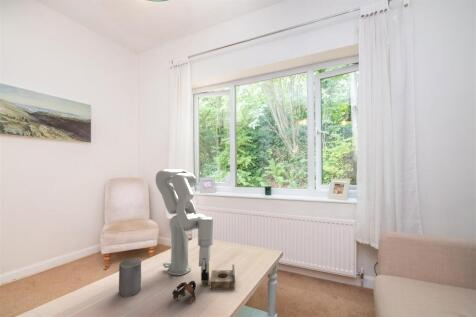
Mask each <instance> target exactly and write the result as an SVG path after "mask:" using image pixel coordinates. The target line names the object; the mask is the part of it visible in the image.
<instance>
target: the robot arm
mask: <svg viewBox="0 0 476 317" xmlns="http://www.w3.org/2000/svg"><path fill="white" fill-rule="evenodd" d="M171 184H172V185H171ZM196 184H197V178H196V176H195V175H194V174H193V173H192V172H190V171H186V170H185V169H181V168H180V169H179V168H178V169H177V168H175V169H172V168H171V169H162V170H159V171H158V172H156V174H155V185H156V187H157V190H158V191H159V192H160V195H161V196H162V199H163V203H164V205H165V208H166V211H167V212H168V214H170V215H174V216H172V217H171V218H170V220H169V230H170V262H163V263H162V266H163V267H164V268H165V269H167V273H168V274H169V275H171V276H183V275H186V274H189V272H191V269H192V266H190V264H189V237H188V234H187V233H186V232H189V231H193V230H197V245H198V246H199V251H198V267H200V268H201V265H202V271H201V270H200V281H201V280H202V281H207V280H208V272H207V267H208V266H209V267H210V261H211V246H212V245H213V243H214V242H213V241H214V237H213V236H214V220H213V217H211V216H209V215H208V216H207V215H205V214H203V213H198V212H197V209H196V207H195V204H194V202H193V199H194V192H193V190H192V187H194V186H195V185H196ZM205 264H207V266H205ZM205 267H206V268H205Z"/></svg>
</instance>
